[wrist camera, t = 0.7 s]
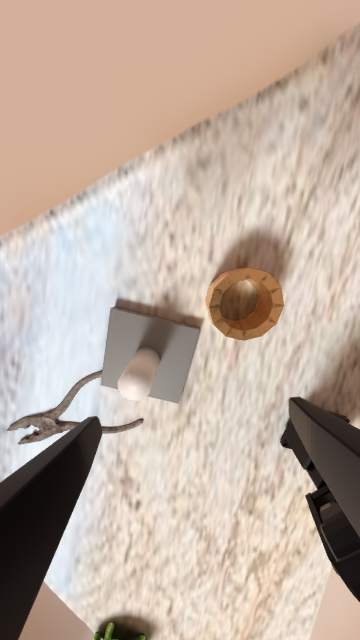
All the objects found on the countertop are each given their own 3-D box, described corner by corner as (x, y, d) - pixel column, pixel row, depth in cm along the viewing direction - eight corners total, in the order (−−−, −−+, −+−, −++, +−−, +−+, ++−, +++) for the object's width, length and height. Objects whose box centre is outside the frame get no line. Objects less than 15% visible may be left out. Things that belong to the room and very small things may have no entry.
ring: (275, 277, 18) (294, 279, 15) (253, 333, 20) (267, 346, 16) (215, 262, 18) (222, 260, 15) (199, 320, 20) (201, 330, 16)
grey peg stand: (199, 327, 20) (203, 349, 14) (179, 397, 23) (175, 441, 17) (114, 306, 20) (83, 320, 14) (104, 380, 23) (75, 417, 17)
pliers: (152, 419, 23) (50, 473, 27) (154, 414, 24) (54, 467, 28) (106, 364, 21) (3, 430, 25) (109, 361, 22) (9, 425, 26)
